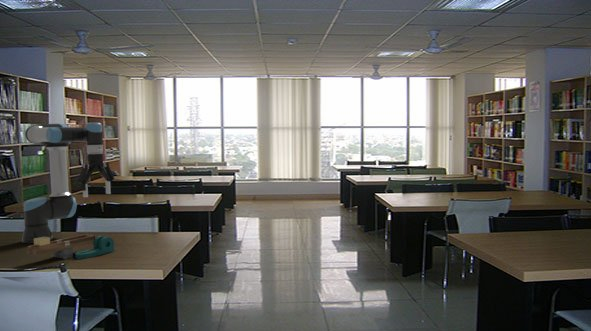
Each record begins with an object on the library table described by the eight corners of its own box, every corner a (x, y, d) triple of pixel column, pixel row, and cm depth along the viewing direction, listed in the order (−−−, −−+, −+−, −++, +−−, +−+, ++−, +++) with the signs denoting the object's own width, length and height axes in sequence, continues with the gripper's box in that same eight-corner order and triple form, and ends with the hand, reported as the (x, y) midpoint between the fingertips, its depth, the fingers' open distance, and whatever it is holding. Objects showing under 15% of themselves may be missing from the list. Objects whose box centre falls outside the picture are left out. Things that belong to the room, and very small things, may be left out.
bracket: (105, 250, 246) (105, 234, 246) (114, 251, 242) (113, 236, 242) (72, 258, 231) (71, 241, 231) (80, 259, 228) (79, 243, 227)
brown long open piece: (26, 263, 223) (25, 246, 222) (85, 249, 248) (84, 234, 248) (38, 265, 218) (37, 248, 217) (96, 251, 243) (95, 235, 243)
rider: (34, 249, 223) (33, 238, 223) (44, 247, 227) (44, 236, 227) (39, 250, 221) (39, 239, 221) (50, 248, 225) (49, 237, 225)
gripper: (78, 154, 233) (80, 198, 235) (120, 152, 255) (122, 192, 256) (68, 154, 237) (70, 198, 238) (110, 152, 259) (112, 192, 260)
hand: (97, 195), depth 247 cm, fingers open, 13 cm apart
